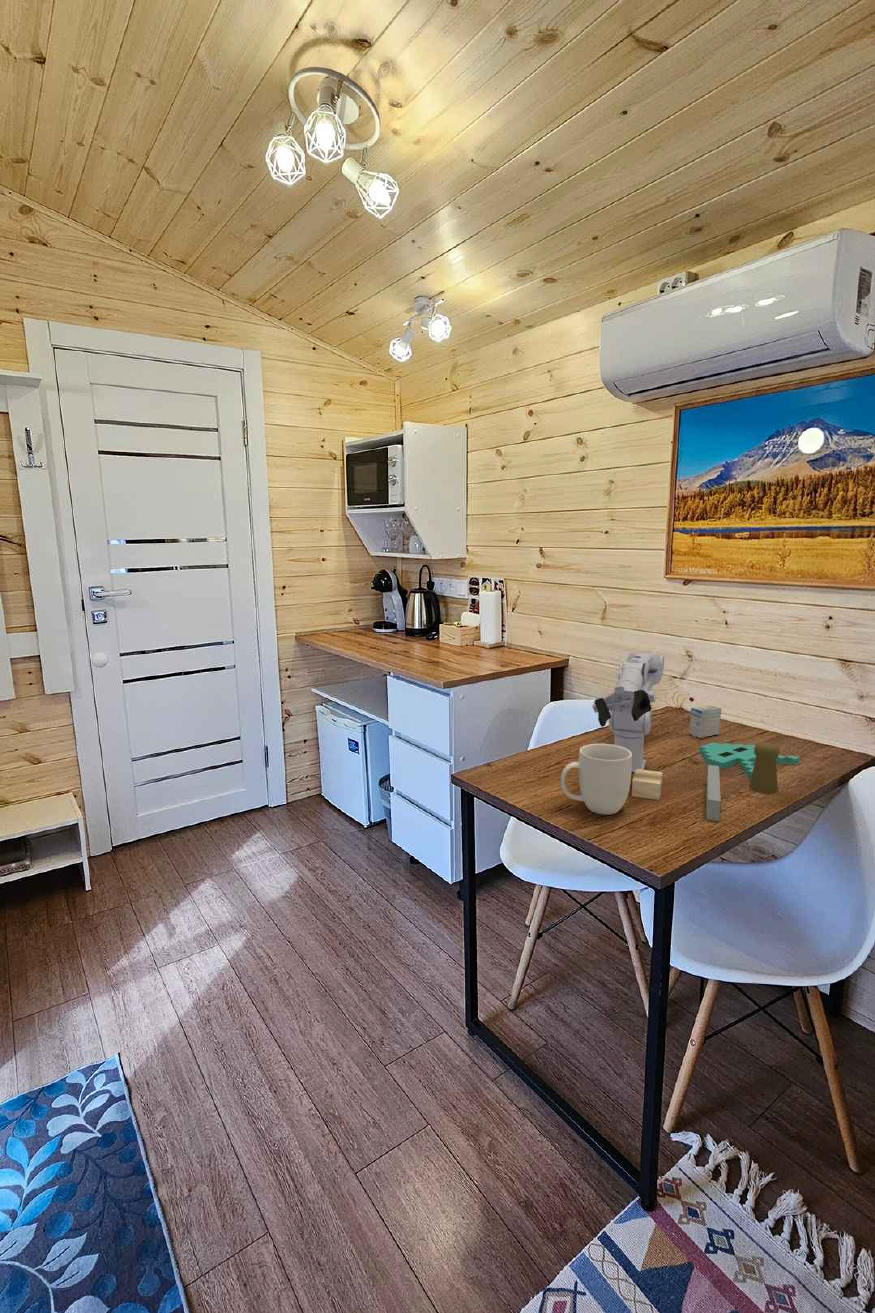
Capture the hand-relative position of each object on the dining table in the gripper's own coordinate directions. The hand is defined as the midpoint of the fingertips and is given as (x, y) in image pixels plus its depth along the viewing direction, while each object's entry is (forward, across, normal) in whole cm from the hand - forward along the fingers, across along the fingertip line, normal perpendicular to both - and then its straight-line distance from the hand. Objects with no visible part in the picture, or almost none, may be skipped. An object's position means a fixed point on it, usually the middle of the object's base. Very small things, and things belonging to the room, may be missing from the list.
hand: (617, 720), depth 139 cm
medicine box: (-49, +5, +37) cm, 62 cm away
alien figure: (-30, +16, +35) cm, 49 cm away
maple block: (0, 0, +20) cm, 20 cm away
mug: (+14, -7, +14) cm, 20 cm away
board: (-1, +14, +24) cm, 28 cm away
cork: (-12, +22, +31) cm, 40 cm away
